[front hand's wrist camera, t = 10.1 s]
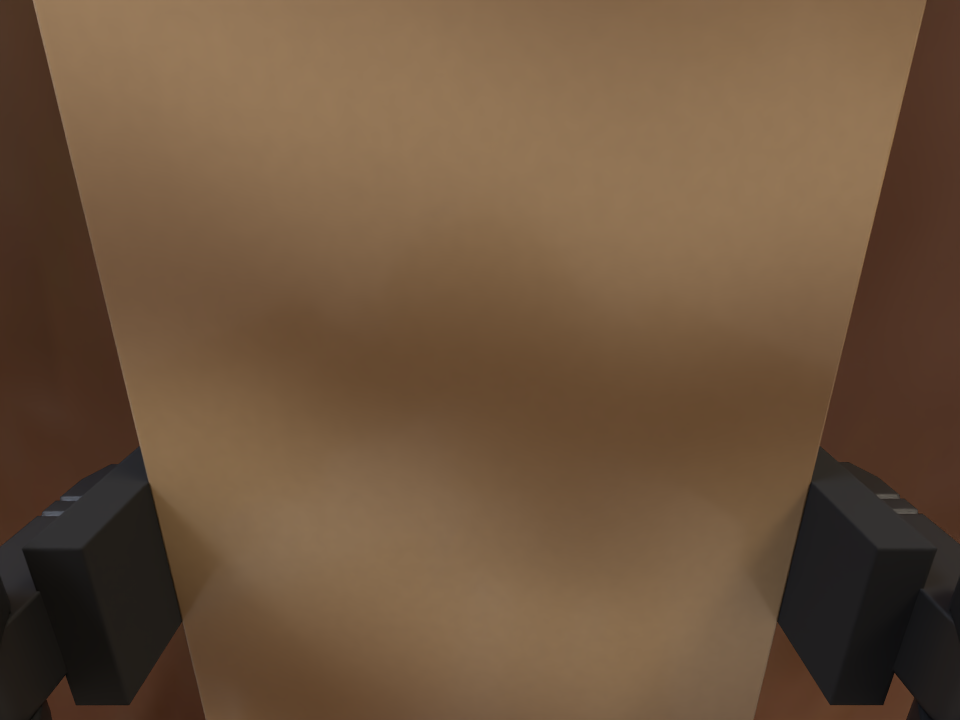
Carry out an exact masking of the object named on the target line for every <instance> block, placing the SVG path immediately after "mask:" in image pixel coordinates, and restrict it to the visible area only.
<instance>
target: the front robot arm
mask: <svg viewBox="0 0 960 720" xmlns="http://www.w3.org/2000/svg"><path fill="white" fill-rule="evenodd" d="M181 622H182V619H181V615H180V610H179V606H178V602H177V598H176V594H175V590H174V585H173V581H172V577H171V573H170V569H169V565H168V560H167V556H166V552H165V548H164V544H163V540H162V535H161V531H160V527H159V523H158V519H157V515H156V511H155V506H154V502H153V498H152V494H151V490H150V486H149V481H148V477H147V473H146V469H145V465H144V461H143V456H142V452H141V448H140V446H139V447H138V448H137V449H136V450H134V451H133V452H132V453H131V454H130V455H129V456H128V457H126V458H125V459H124V460H123V461H122V462H121V463H120V464H111V465H109V466H107V467H105V468H103V469H101V470H99V471H97V472H95V473H93V474H91V475H89V476H88V477H86V478H84V479H82V480H81V481H79V482H78V483H77V484H76V485H74V486H73V487H72V488H71V489H70V490H68V491H67V492H66V493H65V494H64V495H62V496H61V497H60V501H55V502H54V503H53V504H51V505H50V506H49V507H48V508H47V509H45V510H44V511H43V512H42V516H37V517H36V518H35V519H33V520H32V521H31V522H30V523H29V524H27V525H26V526H25V527H24V528H22V529H21V530H20V531H19V532H18V533H16V534H15V535H14V536H13V537H12V538H10V539H9V540H8V541H7V542H6V543H4V544H3V545H2V546H1V547H0V720H52V717H51V711H50V708H49V706H48V703H47V700H46V699H47V698H48V696H49V695H50V694H51V692H52V691H53V690H54V689H55V687H56V686H57V685H58V684H59V682H60V681H61V680H62V679H63V677H64V676H65V675H66V678H67V681H68V684H69V686H70V689H71V692H72V695H73V698H74V701H75V704H76V705H130V703H131V701H132V700H133V698H134V697H135V695H136V693H137V692H138V690H139V689H140V687H141V686H142V684H143V682H144V681H145V679H146V678H147V676H148V674H149V673H150V671H151V670H152V668H153V667H154V665H155V663H156V662H157V660H158V659H159V657H160V655H161V654H162V652H163V651H164V649H165V648H166V646H167V644H168V643H169V641H170V640H171V638H172V636H173V635H174V633H175V632H176V630H177V629H178V627H179V625H180V624H181ZM777 622H778V623H779V625H780V626H781V628H782V629H783V631H784V633H785V634H786V636H787V637H788V639H789V641H790V642H791V644H792V645H793V647H794V648H795V650H796V652H797V653H798V655H799V656H800V658H801V660H802V661H803V663H804V664H805V666H806V667H807V669H808V671H809V672H810V674H811V675H812V677H813V679H814V680H815V682H816V683H817V685H818V686H819V688H820V690H821V691H822V693H823V694H824V696H825V698H826V699H827V701H828V702H829V704H830V705H883V704H884V701H885V699H886V696H887V693H888V690H889V687H890V684H891V681H892V678H893V675H894V673H895V674H896V675H897V676H898V677H899V679H900V680H901V681H902V682H903V684H904V685H905V686H906V688H907V689H908V690H909V691H910V693H911V694H912V695H913V696H914V700H913V703H912V706H911V708H910V711H909V714H908V716H907V719H906V720H960V544H959V543H957V542H956V541H955V540H954V539H953V538H951V537H950V536H949V535H948V534H946V533H945V532H944V531H943V530H942V529H940V528H939V527H938V526H937V525H935V524H934V523H933V522H932V521H931V520H929V519H928V518H927V517H926V516H925V515H923V514H918V510H917V509H916V508H915V507H914V506H912V505H911V504H910V503H909V502H907V501H906V500H905V499H900V495H899V494H898V493H896V492H895V491H894V490H893V489H892V488H890V487H889V486H888V485H887V484H886V483H884V482H883V481H882V480H881V479H879V478H878V477H876V476H874V475H872V474H871V473H869V472H867V471H865V470H863V469H861V468H859V467H857V466H855V465H853V464H851V463H849V462H838V461H836V460H835V459H834V458H833V457H832V456H831V455H829V454H828V453H827V452H826V451H825V450H824V449H823V448H821V447H820V446H819V450H818V454H817V458H816V462H815V467H814V471H813V475H812V479H811V483H810V487H809V492H808V496H807V500H806V504H805V508H804V512H803V517H802V521H801V525H800V529H799V533H798V537H797V541H796V546H795V550H794V554H793V558H792V562H791V566H790V571H789V575H788V579H787V583H786V587H785V591H784V596H783V600H782V604H781V608H780V612H779V616H778V621H777Z"/></svg>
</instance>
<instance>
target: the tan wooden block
mask: <svg viewBox="0 0 960 720" xmlns="http://www.w3.org/2000/svg"><path fill="white" fill-rule="evenodd" d="M926 1H927V0H33V3H34V7H35V11H36V15H37V20H38V24H39V28H40V32H41V36H42V40H43V45H44V49H45V53H46V57H47V61H48V65H49V69H50V74H51V78H52V82H53V86H54V90H55V94H56V99H57V103H58V107H59V111H60V115H61V119H62V124H63V128H64V132H65V136H66V140H67V144H68V149H69V153H70V157H71V161H72V165H73V169H74V173H75V178H76V182H77V186H78V190H79V194H80V198H81V203H82V207H83V211H84V215H85V219H86V223H87V228H88V232H89V236H90V240H91V244H92V248H93V253H94V257H95V261H96V265H97V269H98V273H99V278H100V282H101V286H102V290H103V294H104V298H105V302H106V307H107V311H108V315H109V319H110V323H111V327H112V332H113V336H114V340H115V344H116V348H117V352H118V357H119V361H120V365H121V369H122V373H123V377H124V382H125V386H126V390H127V394H128V398H129V402H130V406H131V411H132V415H133V419H134V423H135V427H136V431H137V436H138V440H139V444H140V448H141V452H142V456H143V461H144V465H145V469H146V473H147V477H148V481H149V486H150V490H151V494H152V498H153V502H154V506H155V511H156V515H157V519H158V523H159V527H160V531H161V535H162V540H163V544H164V548H165V552H166V556H167V560H168V565H169V569H170V573H171V577H172V581H173V585H174V590H175V594H176V598H177V602H178V606H179V610H180V615H181V619H182V623H183V627H184V631H185V635H186V639H187V644H188V648H189V652H190V656H191V660H192V664H193V669H194V673H195V677H196V681H197V685H198V689H199V694H200V698H201V702H202V706H203V710H204V714H205V719H206V720H754V716H755V712H756V708H757V704H758V700H759V695H760V691H761V687H762V683H763V679H764V675H765V670H766V666H767V662H768V658H769V654H770V650H771V645H772V641H773V637H774V633H775V629H776V625H777V621H778V616H779V612H780V608H781V604H782V600H783V596H784V591H785V587H786V583H787V579H788V575H789V571H790V566H791V562H792V558H793V554H794V550H795V546H796V541H797V537H798V533H799V529H800V525H801V521H802V517H803V512H804V508H805V504H806V500H807V496H808V492H809V487H810V483H811V479H812V475H813V471H814V467H815V462H816V458H817V454H818V450H819V446H820V442H821V438H822V433H823V429H824V425H825V421H826V417H827V413H828V408H829V404H830V400H831V396H832V392H833V388H834V383H835V379H836V375H837V371H838V367H839V363H840V358H841V354H842V350H843V346H844V342H845V338H846V334H847V329H848V325H849V321H850V317H851V313H852V309H853V304H854V300H855V296H856V292H857V288H858V284H859V279H860V275H861V271H862V267H863V263H864V259H865V255H866V250H867V246H868V242H869V238H870V234H871V230H872V225H873V221H874V217H875V213H876V209H877V205H878V200H879V196H880V192H881V188H882V184H883V180H884V175H885V171H886V167H887V163H888V159H889V155H890V151H891V146H892V142H893V138H894V134H895V130H896V126H897V121H898V117H899V113H900V109H901V105H902V101H903V96H904V92H905V88H906V84H907V80H908V76H909V72H910V67H911V63H912V59H913V55H914V51H915V47H916V42H917V38H918V34H919V30H920V26H921V22H922V17H923V13H924V9H925V5H926Z"/></svg>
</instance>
